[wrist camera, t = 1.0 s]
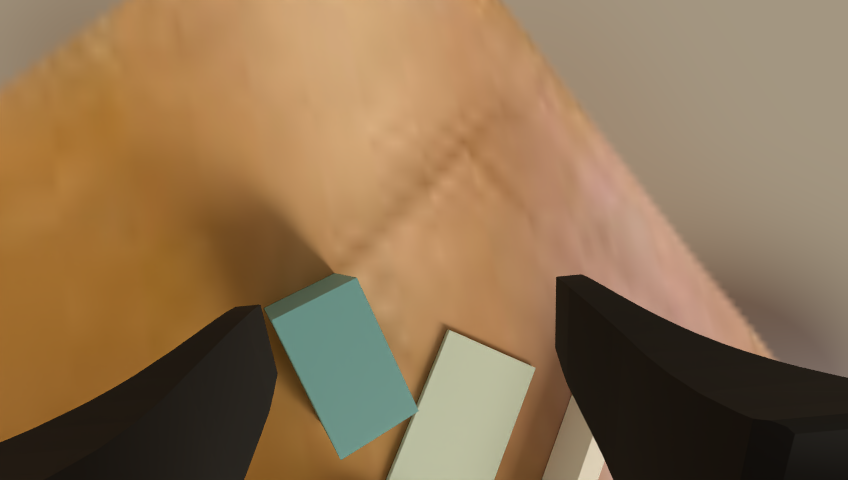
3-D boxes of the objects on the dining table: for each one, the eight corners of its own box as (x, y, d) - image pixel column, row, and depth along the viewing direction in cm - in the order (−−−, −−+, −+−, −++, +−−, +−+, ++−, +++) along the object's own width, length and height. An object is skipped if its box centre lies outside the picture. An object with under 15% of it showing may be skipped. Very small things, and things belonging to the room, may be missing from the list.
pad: (477, 514, 26) (480, 517, 26) (383, 485, 24) (385, 487, 24) (532, 366, 27) (535, 367, 27) (447, 329, 26) (449, 330, 25)
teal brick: (386, 383, 25) (418, 411, 20) (321, 422, 24) (340, 460, 19) (334, 273, 24) (356, 277, 20) (263, 307, 23) (271, 320, 19)
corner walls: (531, 583, 27) (559, 614, 25) (357, 536, 24) (371, 567, 22) (610, 353, 29) (643, 362, 27) (461, 282, 26) (484, 284, 24)
